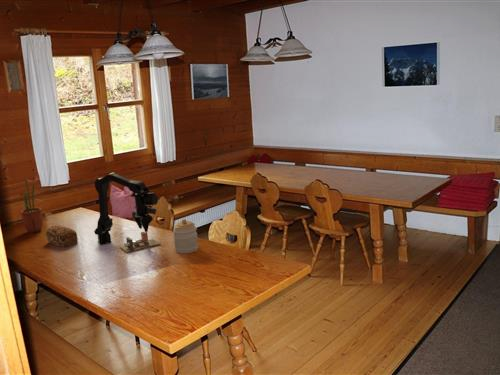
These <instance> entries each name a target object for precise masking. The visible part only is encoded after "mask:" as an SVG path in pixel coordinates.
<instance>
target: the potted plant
mask: <svg viewBox="0 0 500 375" xmlns="http://www.w3.org/2000/svg"><path fill="white" fill-rule="evenodd" d="M28 181H29V182H30V180H29V179H25V185H24V187H26V191H25V192H23V197H22V198H20V199H19V202H20V203H22V201H24V205H23V209H21V210H20V211H19V212H20V215H21V217H22V222H23V227H24V229H25V230H26V231H27V232H28V233H31V234H34V232H35V233H37V232H39V231H41V230H42V228H43V225H44V224H43V221H44V220H43V215H42V214H43V213H42V210H43V208H41V207H35V200H36V201H40V202H42V200H41V199H38V198H35V192H37V190H36V189H35V188H36V187H35V184H32V188H31V190H32V191H31V195H30V190H29V188H30V187H31V186H30V185H29V184H28ZM31 199H32V203H31Z"/></svg>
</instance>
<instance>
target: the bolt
mask: <svg viewBox="0 0 500 375" xmlns="http://www.w3.org/2000/svg"><path fill="white" fill-rule="evenodd" d="M148 235H149V234H148V232H145V231H141V232H140V237H141V238H140V239H137V240H132V241H133V245H135V244H139V243H143V242H147V241H148V240H149V238H148ZM123 246H125V247H127V246H130V243H129V242H128V243H127V242H124V243H123Z"/></svg>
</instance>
